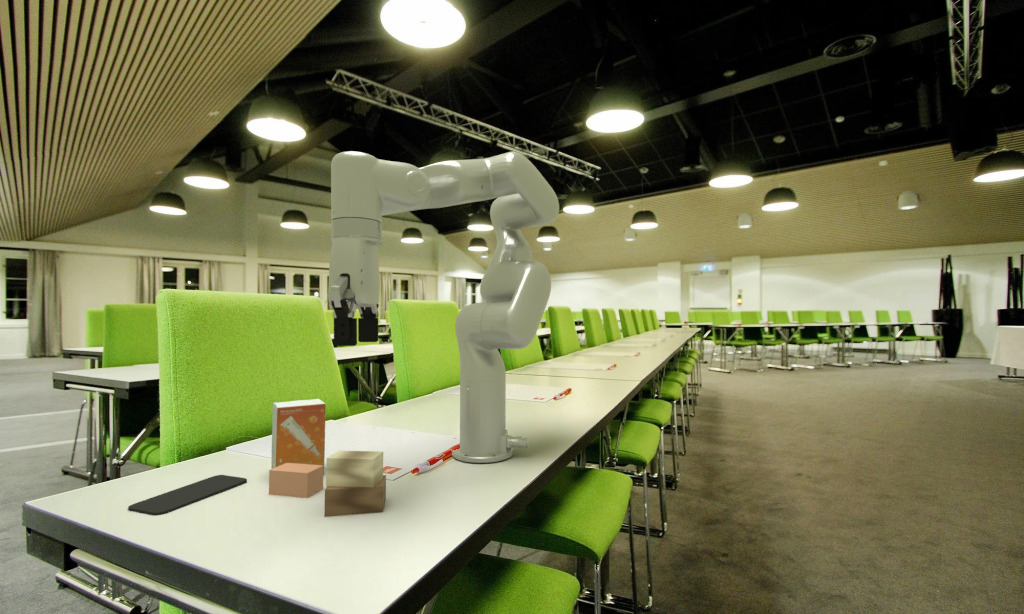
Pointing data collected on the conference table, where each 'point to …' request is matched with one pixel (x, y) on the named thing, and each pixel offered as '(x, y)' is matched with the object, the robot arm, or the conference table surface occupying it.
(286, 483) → the terracotta brick
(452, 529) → the conference table surface
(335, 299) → the robot arm
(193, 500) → the phone
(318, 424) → the small box
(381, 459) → the ash brick
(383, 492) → the walnut brick
